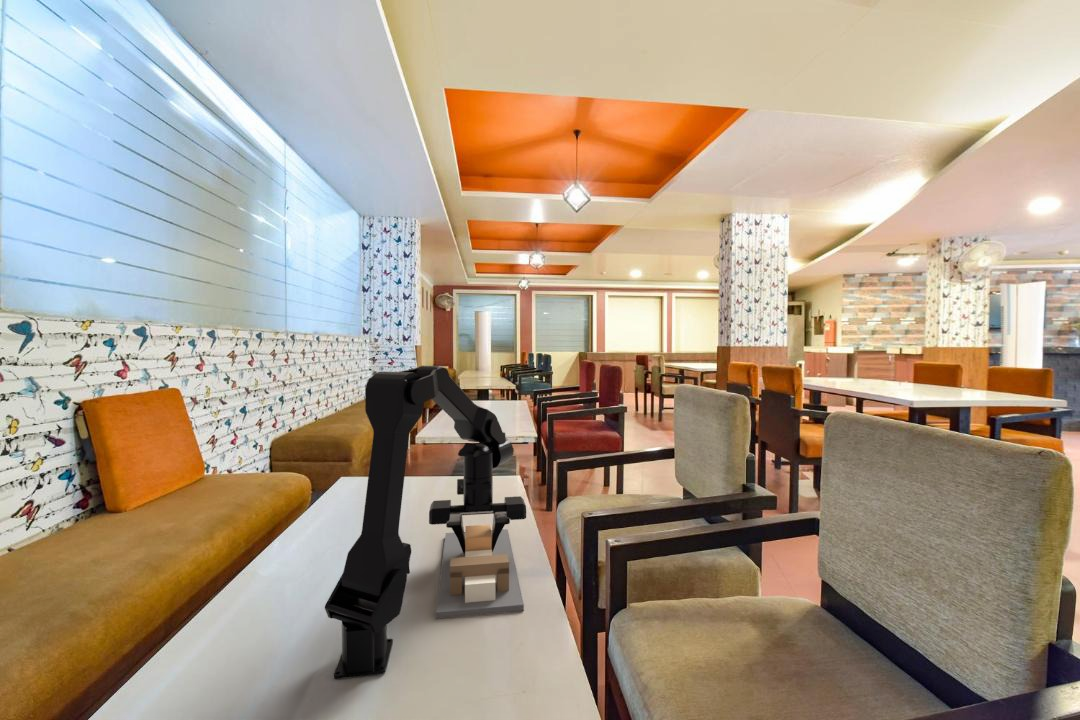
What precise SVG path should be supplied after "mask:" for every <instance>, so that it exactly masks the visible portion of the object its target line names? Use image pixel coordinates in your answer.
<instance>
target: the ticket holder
mask: <svg viewBox="0 0 1080 720" xmlns="http://www.w3.org/2000/svg"><path fill="white" fill-rule="evenodd" d="M491 534H492V529H491ZM464 535H466V531H464ZM442 552H443V554H442V562H441V569H440V577H439V585H438V594H437V602H436V610H435V614H436V615H435V619H436V620H437V619H446V618H448V619H449V618H458V617H469V616H478V615H489V614H492V615H493V614H501V613H502V614H503V613H513V612H522V611H523V612H524V611H525V610H524V609H525V606H524V605H525V604H524V600H523V596H522V595H523V594H522V590H521V586H520V585H521V584H520V581H519V577H518V571H517V568H516V567H517V566H516V561H515V558H514V553H513V547H512V543H511V538H510V534H509V529H508V528H507V529H506V528H505V529H504V528H503V529H502V531H501V533H500V535H499V537H498V539H497V542H496V545H495V547H494V550H493V552H492V549H486V550H472V551H465V554H463V551H462V548H461V546H460V543H459V541H458V538H457V536H456V535H455V533H454V532H446V533H445V536H444V544H443V551H442Z"/></svg>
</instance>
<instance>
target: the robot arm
mask: <svg viewBox="0 0 1080 720" xmlns="http://www.w3.org/2000/svg"><path fill="white" fill-rule="evenodd" d="M364 392H365V393H364V402H365V403H364V404H365V407H364V410H365V414H366V416H367V418H368V422H369V423H370V427H371V429H372V432H373V436H372V442H371V443H372V445H371V451H370V458H369V459H370V460H369V471H368V477H367V485H366V486H367V487H366V491H365V492H366V494H365V503H364V512H363V519H362V525H361V526H362V527H361V533H360V535H359V537H358V538H357V539H356V541H355V542H354V544H353V545H352V546H351V548H350V549H349V551H348V552H347V555H346V560H345V564H344V568H343V570H342V571H343V572H342V574H341V576H340V578H339V579H338V581H337V583H336V585H335V586H334V588H333V590H332V592H331V594H330V595H329V598H328V599H327V601H326V603H325V605H324V610H325V613H326V614H327V615H326V616H327V617H328V618H329V619H334V620H338V621H341V648H342V649H341V655H340V658H339V660H338V662H337V664H336V667H335V670H334V672H333V679H334V680H340V679H348V678H350V679H351V678H358V677H367V676H368V677H369V676H377V675H383V674H385V673H386V672H387V668H388V664H389V660H390V655H391V652H392V649H393V644H394V639H393V638H388V634H387V632H388V630H387V628H388V627H387V625H389V624H390V623H391V622H392V621H394V619H396V618H397V617H398V616H399V615H400V614H401V610H402V605H403V602H404V597H405V591H406V588H407V587H406V585H407V581H408V575H410V573H411V571H410V561H411V555H412V547H411V543H407V542H403V541H402V539H401V537H400V533H399V532H400V531H399V529H400V522H401V510H402V501H403V492H404V485H405V474H406V465H407V464H406V463H407V456H408V447H409V439H410V438H409V437H410V433H411V431H412V430H413V429H414V427H415V425H416V424H417V423H418V421H419V420H420V419H421V418H422V415H423V411H424V406H425V402H428V401H431V400H432V401H433V402H434V403H435V404H436V405H437V406H439V408H440V409H442V410H443V411H444V412H445V413H446V414H447V416H449V417H450V418H451V419H452V420H453V422H454V423H453V429H454V430H455V432H456V433H457V435H458V436H459V438H460V440H464V441H468V442H465V443H464V445H463V447H461V448H460V449H459V451H458V453H457V456H458V457H462V458H463V478H458V479H456V494H457V495H458V496H459V495H463V504H458V505H452V500H451V499H445V500H444V499H442V500H439V499H438V500H433V501H432V503H431V504H430V508H429V512H428V523H429V525H433V526H434V525H446V526H445V527H446V528H448V529H450V528H451V530H452V531H453V533H455V535H456V536H457V538H458V541H459V543H460V546H461V548H462V551H463V554H465V535H464V532H465V529H464V520H463V519H464V518H463V516H471V515H474V516H475V515H492V514H493V515H492V516H493V517H492V527H491V530H492V534H491V536H492V552H493V550H494V547H495V545H496V542H497V539H498V537H499V535H500V533H501V531H502V529H504V528H505V525H510V524H511V521H516V520H519V521H520V520H525V519H527V506H526V502H525V499H524V498H523V497H522V496H505V497H504V501H503V502H497V503H496V502H495V503H494V502H493V498H494V497H493V496H494V495H493V493H494V491H493V487H494V485H493V480H494V479H493V478H494V477H493V476H494V475H493V474H494V473H493V472H494V471H493V469H496V468H498V467H499V466H502V465H503V464H505V463H507V462H509V461H510V460H511V459H512V458H513V457H514V451H515V449H514V447H513V443H512V442H511V441H510V440H509V439H508V438H507V437H506V432H504V431H503V430H502V427H501V424H500V421H499V419H498V417H497V416H496V414H495V413H493V412H492V411H491V410H489V409H488V408H485V407H482V406H480V405H477V404H476V403H474V402H473V400H472V399H471V398H470V397H469V396H468V394H466V393H465V392H464V390H463V389H462V388H461V387H460V386H459V385H458V383H456V381H454V379H453V378H452V377H451V376H450V373H449V370H448V369H447V368H446V367H443V366H442V365H421V366H418V367H414V368H411V369H407V370H406V369H405V370H400V371H377V372H376V373H374V374H373V375H372V376H371V377H370V378H368V380H367V381H366V385H365V389H364ZM469 442H472V443H469ZM473 442H474V443H473Z"/></svg>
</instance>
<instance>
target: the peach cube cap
mask: <svg viewBox="0 0 1080 720" xmlns="http://www.w3.org/2000/svg"><path fill="white" fill-rule="evenodd" d="M491 530H492V527H491V524H479V525H477V524H476V525H465V532H466V535H465V551H472V550H486V549H492V536H491Z"/></svg>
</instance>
